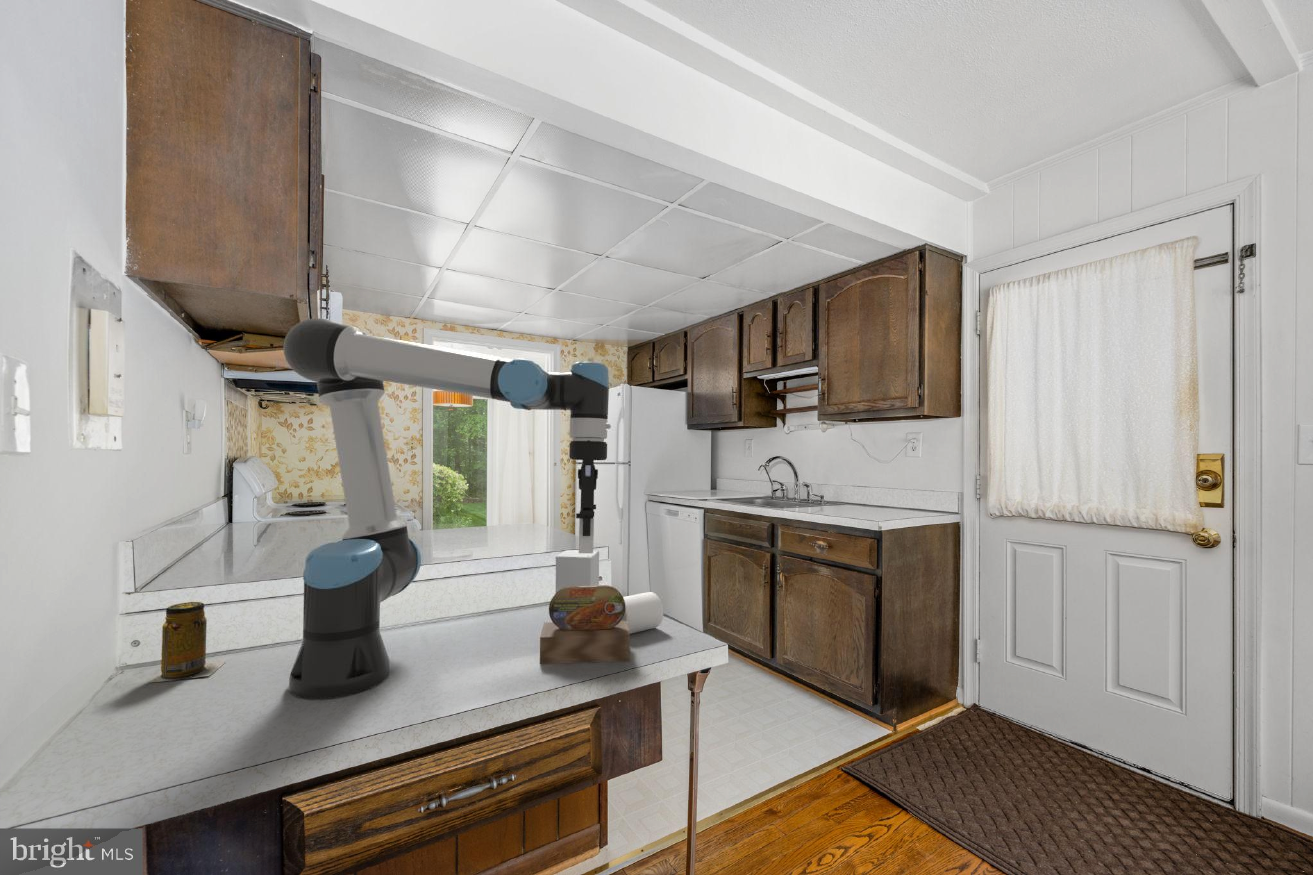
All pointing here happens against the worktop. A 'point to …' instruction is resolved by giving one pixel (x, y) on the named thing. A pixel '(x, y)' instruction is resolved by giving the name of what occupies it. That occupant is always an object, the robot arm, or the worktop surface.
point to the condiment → (185, 643)
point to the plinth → (584, 644)
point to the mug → (642, 612)
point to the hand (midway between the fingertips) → (586, 546)
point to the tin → (587, 608)
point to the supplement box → (577, 569)
